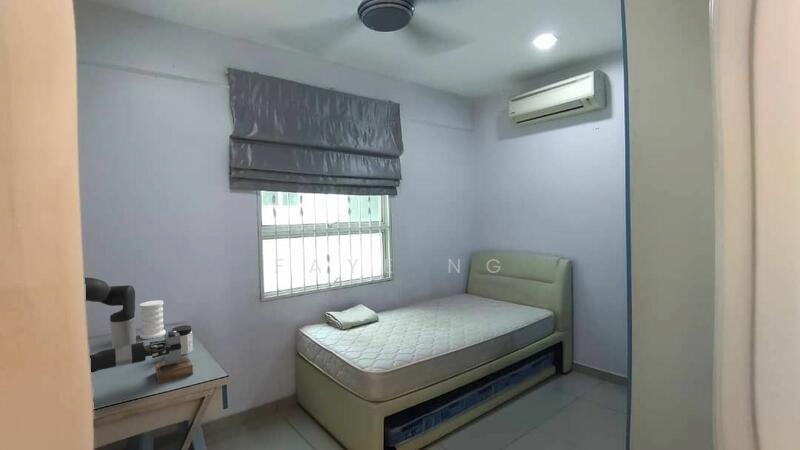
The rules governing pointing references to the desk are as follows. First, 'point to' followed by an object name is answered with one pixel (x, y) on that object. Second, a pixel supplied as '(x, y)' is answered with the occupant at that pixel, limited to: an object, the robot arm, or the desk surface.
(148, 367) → the desk surface
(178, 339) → the block
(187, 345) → the jar
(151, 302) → the decorative container
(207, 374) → the desk surface
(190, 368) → the stand
